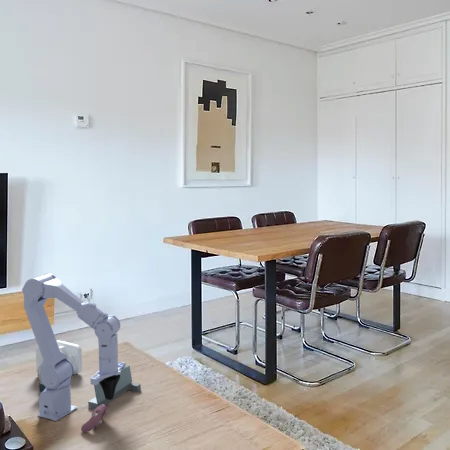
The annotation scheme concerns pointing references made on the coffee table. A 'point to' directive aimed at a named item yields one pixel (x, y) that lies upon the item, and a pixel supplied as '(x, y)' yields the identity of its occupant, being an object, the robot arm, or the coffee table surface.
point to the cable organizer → (70, 350)
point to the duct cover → (123, 381)
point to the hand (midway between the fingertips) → (109, 398)
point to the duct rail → (115, 395)
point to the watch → (41, 385)
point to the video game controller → (95, 418)
